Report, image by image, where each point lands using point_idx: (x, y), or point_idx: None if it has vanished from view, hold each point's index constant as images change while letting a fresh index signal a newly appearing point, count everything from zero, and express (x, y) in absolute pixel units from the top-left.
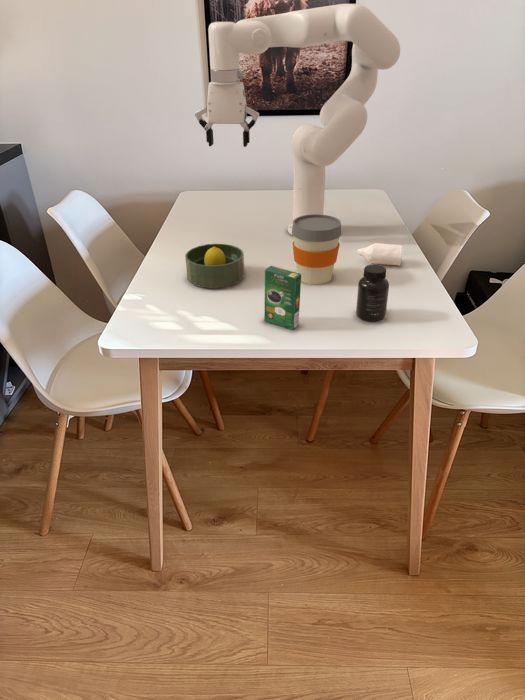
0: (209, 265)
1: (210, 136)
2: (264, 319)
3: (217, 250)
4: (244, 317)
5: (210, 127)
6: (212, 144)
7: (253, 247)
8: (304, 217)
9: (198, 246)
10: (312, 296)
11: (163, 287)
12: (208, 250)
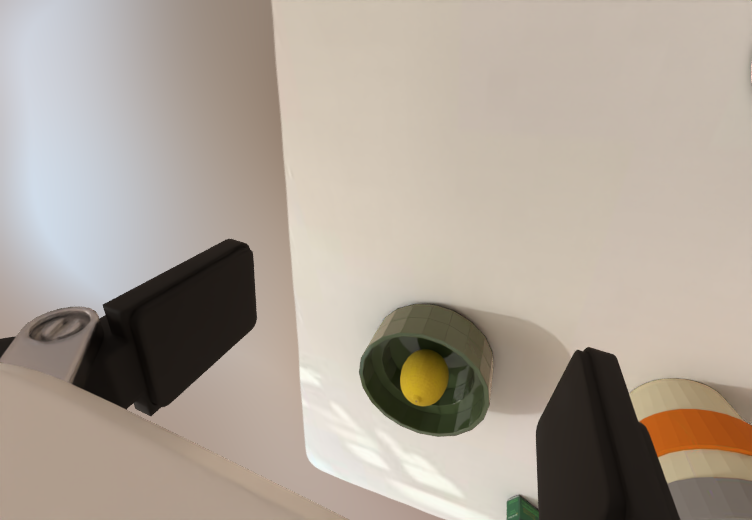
0: (411, 428)
1: (197, 373)
2: (507, 503)
3: (424, 404)
4: (477, 478)
5: (104, 386)
6: (253, 288)
7: (548, 203)
8: (727, 515)
9: (381, 339)
10: None
11: (342, 361)
12: (404, 393)
